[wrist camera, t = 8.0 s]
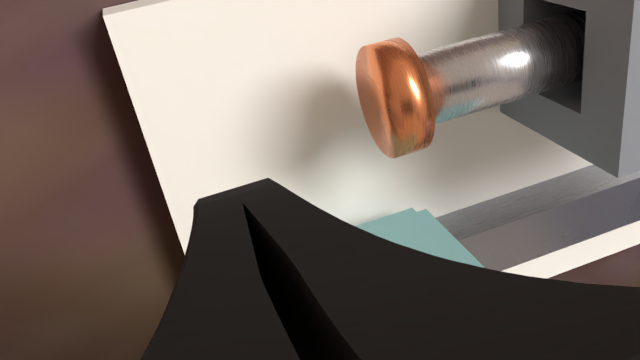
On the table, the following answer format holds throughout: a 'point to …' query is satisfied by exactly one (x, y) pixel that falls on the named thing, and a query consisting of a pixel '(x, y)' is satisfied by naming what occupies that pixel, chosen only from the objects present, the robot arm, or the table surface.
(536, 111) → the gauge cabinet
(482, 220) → the rail
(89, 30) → the table surface
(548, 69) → the gauge plunger
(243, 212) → the robot arm
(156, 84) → the base board
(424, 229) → the block
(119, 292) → the table surface
